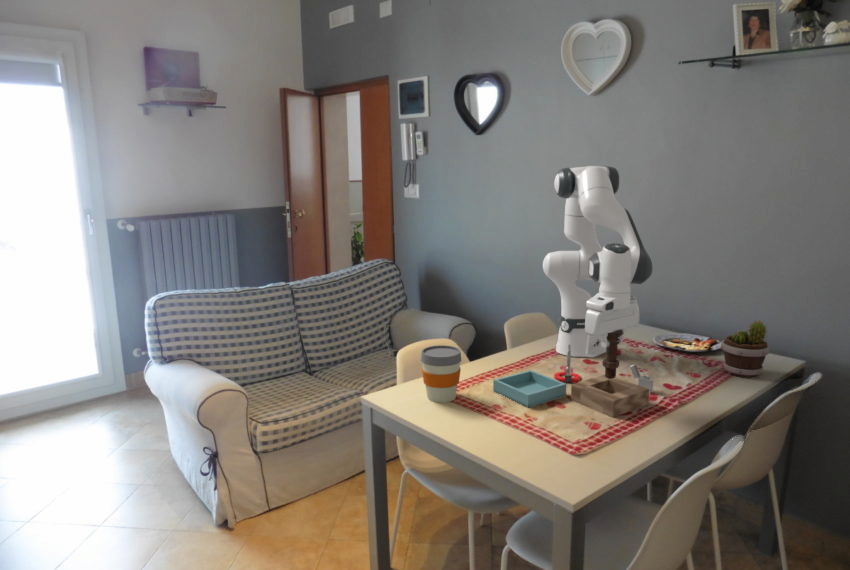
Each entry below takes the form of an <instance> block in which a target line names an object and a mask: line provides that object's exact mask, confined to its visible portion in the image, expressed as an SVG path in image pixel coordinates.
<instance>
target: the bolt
mask: <svg viewBox="0 0 850 570" xmlns="http://www.w3.org/2000/svg"><path fill="white" fill-rule="evenodd" d="M622 334H623V331H622V330H619V331H615V332H611V333H608V336H607V337H606V338H607V341H609V347H606V352H605V358H604V359H603V360H602V366H603V367H604V369H605V371H604V375H605V377H607V378H608V379H613V378H615V377H617V369H618V368H619V366H620V361H619V360H618V345H619V344H618V337H620V336H621V335H622Z"/></svg>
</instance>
